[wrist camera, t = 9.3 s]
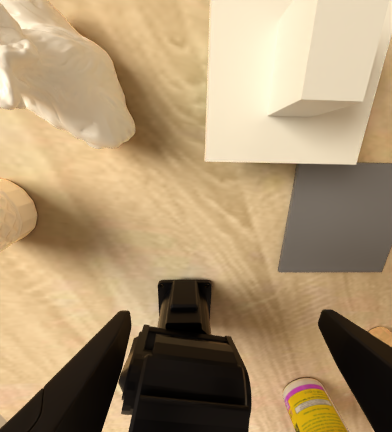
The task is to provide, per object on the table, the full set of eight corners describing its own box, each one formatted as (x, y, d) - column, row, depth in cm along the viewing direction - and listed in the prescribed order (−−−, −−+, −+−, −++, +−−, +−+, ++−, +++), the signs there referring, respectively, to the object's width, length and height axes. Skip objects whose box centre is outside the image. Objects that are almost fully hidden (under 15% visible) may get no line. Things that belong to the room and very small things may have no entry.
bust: (50, 37, 17) (-162, 26, 10) (67, -68, 12) (-357, -259, 5) (134, 152, 21) (22, 208, 13) (176, 108, 15) (29, 161, 8)
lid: (345, 164, 15) (419, 168, 10) (204, 160, 14) (212, 164, 10) (394, -27, 11) (541, -156, 7) (211, -38, 11) (228, -186, 6)
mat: (378, 270, 24) (381, 272, 24) (277, 270, 24) (279, 272, 23) (418, 164, 20) (422, 164, 20) (297, 161, 19) (299, 161, 19)
